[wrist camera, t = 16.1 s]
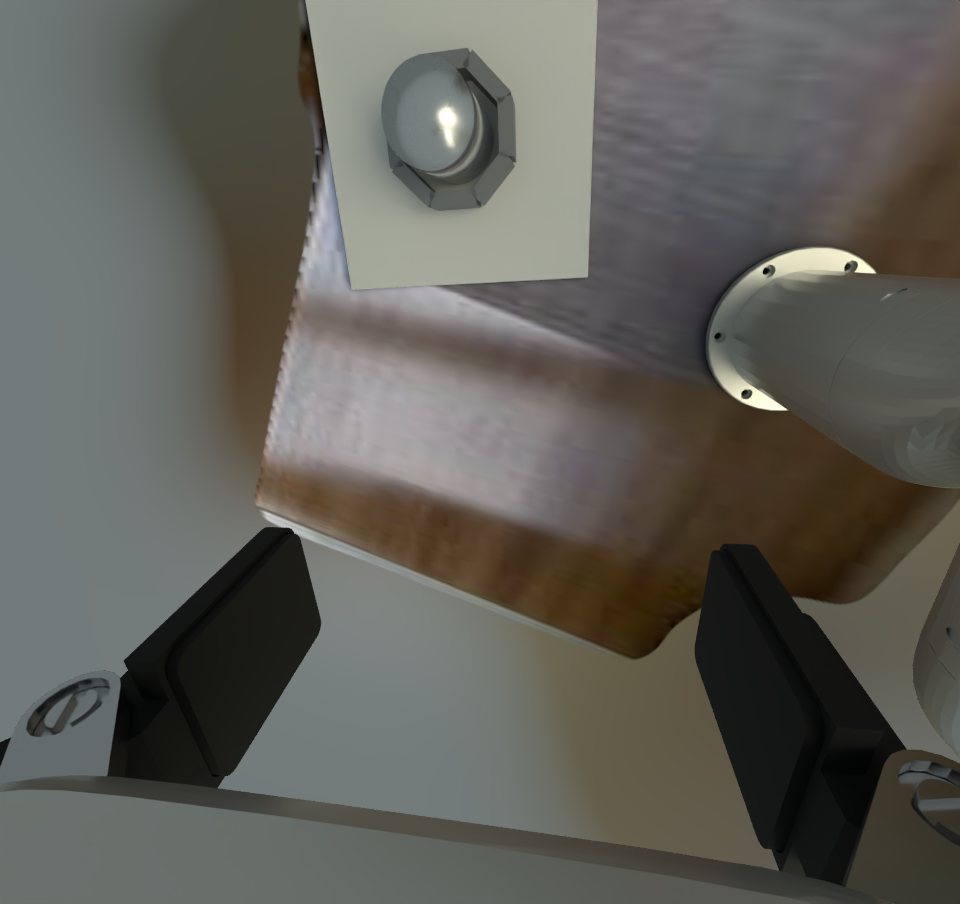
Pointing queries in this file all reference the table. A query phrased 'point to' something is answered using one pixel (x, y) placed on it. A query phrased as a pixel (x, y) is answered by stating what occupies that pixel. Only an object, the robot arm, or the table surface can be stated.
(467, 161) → the piston
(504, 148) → the holder
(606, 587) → the table surface
